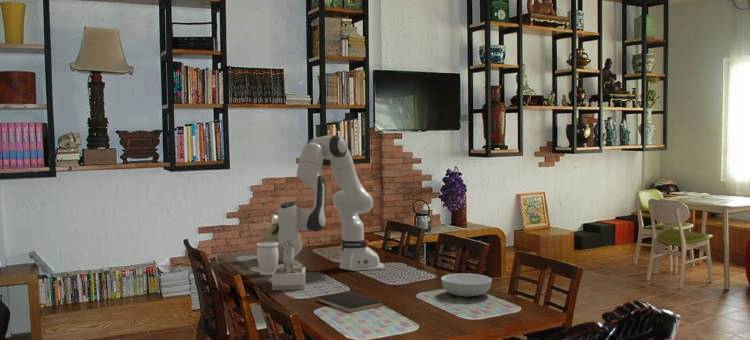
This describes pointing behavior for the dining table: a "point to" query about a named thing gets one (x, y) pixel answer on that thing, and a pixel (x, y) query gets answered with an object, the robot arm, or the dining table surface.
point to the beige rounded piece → (273, 236)
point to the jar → (267, 257)
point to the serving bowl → (466, 284)
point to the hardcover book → (349, 301)
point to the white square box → (289, 279)
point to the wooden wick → (291, 267)
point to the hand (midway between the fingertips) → (289, 270)
